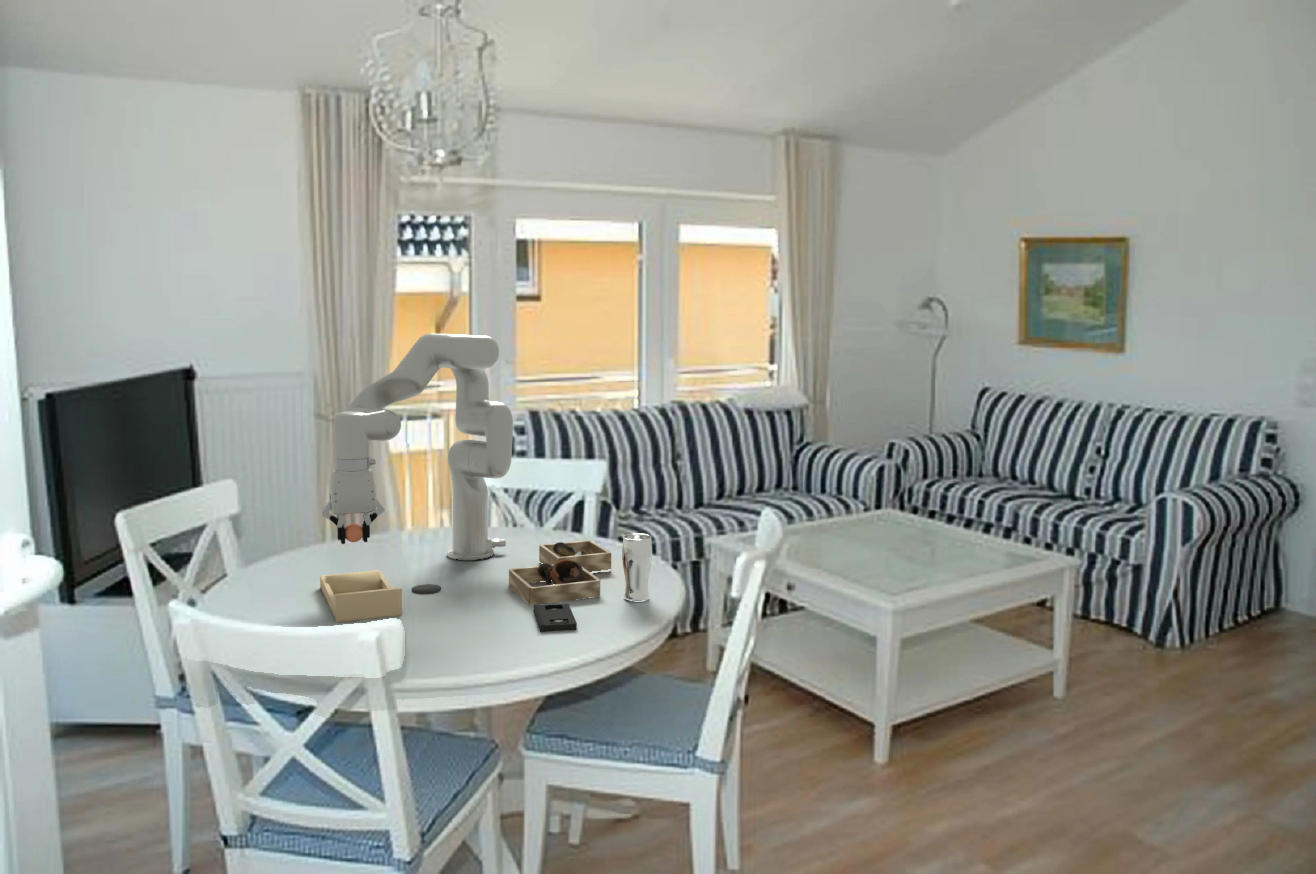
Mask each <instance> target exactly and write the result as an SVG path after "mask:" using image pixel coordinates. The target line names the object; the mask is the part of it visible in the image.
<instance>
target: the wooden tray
mask: <svg viewBox="0 0 1316 874" xmlns="http://www.w3.org/2000/svg"><path fill="white" fill-rule="evenodd" d="M556 543H557V542H556ZM556 543H546V544H539V549H538V551H539V552H538V553H539V554H538V555H539V556H538V557H539V559H538V560H539V561H540V562H541V563H548V564H550V565H554V564H555V563H556V562H557V561H559V560H563V559H565V560H566V559H569V560H573V561H576V562H578V563H579V564H580V565H581V566H582V567H583V568H584V569H586V570H587V571H589V572H592V571H601V570H608V569H611V570H612V552H611V551H609V550H608V549H606V548H604V547H602V546H601V545H599V544H598V543H596V542H595V541H593V540H590V539H589V540H579V541H578V540H577V541H568V542H567V541H565V542H563V543H564V544H565V545H567V546H568V547H572V548H573V549H574V550H575V554H576V553H578V552H579V551H580V552H581V555H577V556H566V557H563V556H561V555H559V554H557V553H555V551H554V549H553V547H554V545H555V544H556ZM586 549H587V552H586V555H582V551H584V552H585V550H586Z"/></svg>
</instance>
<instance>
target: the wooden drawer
mask: <svg viewBox="0 0 1316 874" xmlns="http://www.w3.org/2000/svg"><path fill="white" fill-rule="evenodd" d="M319 578H320V579H319V582H320V584H319V585H320V589H321V592H322V594H324V595H323V597H324V599H325V601H326V603H327V605H328V608H329V610H330V612H331V614H332V617H333V619H334V621H335V623H336V624H337V623H343V622H353V621H363V620H371V619H378V618H379V619H380V618H387V617H396V616H402V615H403V595H402V594H403V593H402V592H403V591H402V587H400V586H399V587H392V585H391V583H390V582H389V581H388V579H387V578H386V576H385V575H384V574H383V572H382V571H381V570H380V569H375V570H374V569H373V570H367V571H366V570H365V571H354V572H345V573H334V574H324V575H323V574H322V575H319Z"/></svg>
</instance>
